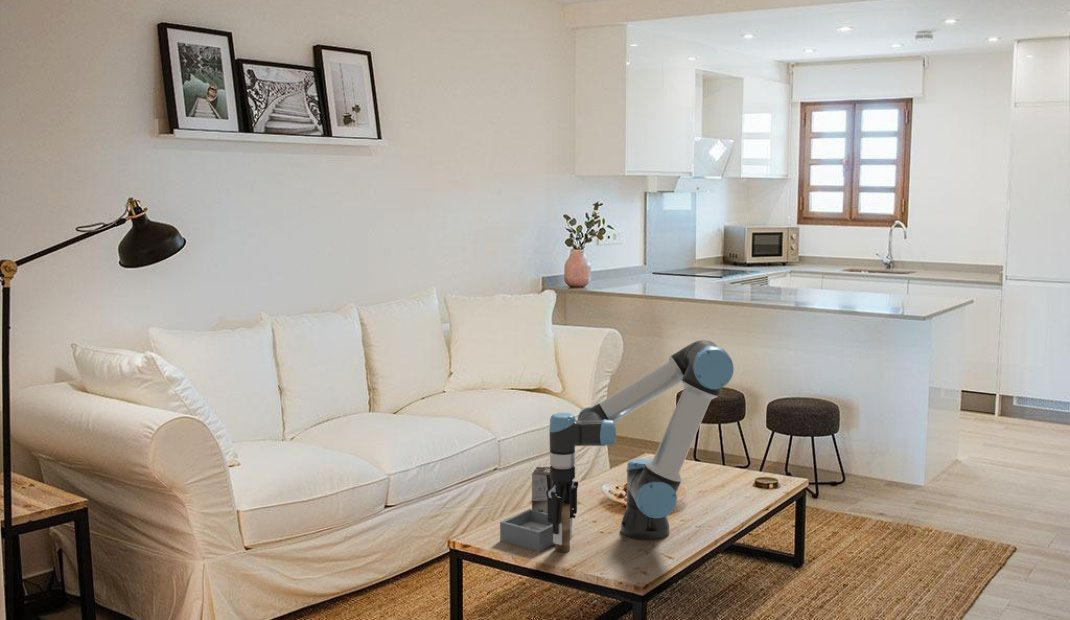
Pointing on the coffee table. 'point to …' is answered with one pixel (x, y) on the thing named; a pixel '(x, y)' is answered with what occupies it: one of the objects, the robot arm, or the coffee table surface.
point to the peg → (564, 529)
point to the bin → (528, 530)
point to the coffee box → (540, 488)
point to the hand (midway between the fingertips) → (562, 541)
